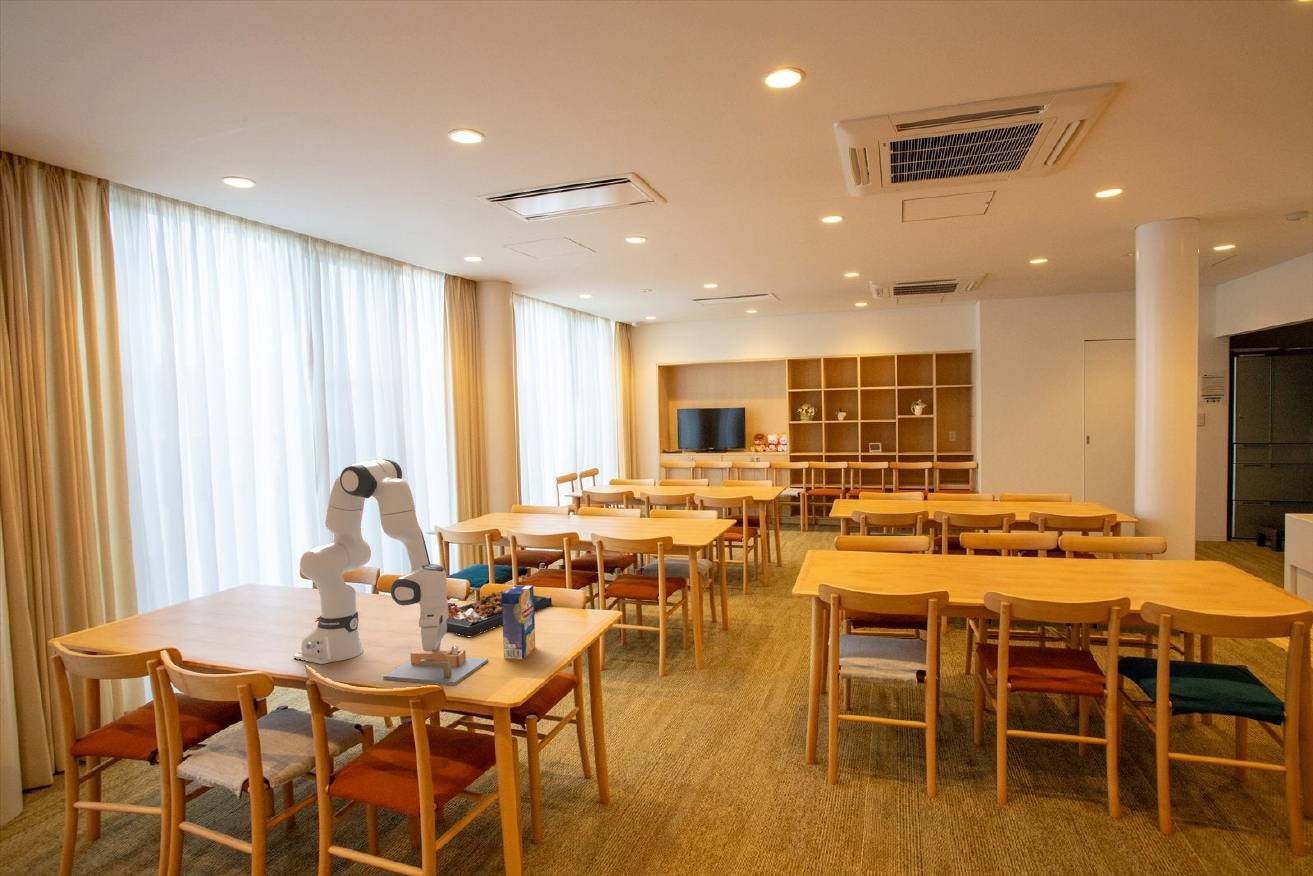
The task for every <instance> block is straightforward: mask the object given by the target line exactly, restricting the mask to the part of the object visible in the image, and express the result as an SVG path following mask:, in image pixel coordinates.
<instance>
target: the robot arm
mask: <svg viewBox="0 0 1313 876" xmlns="http://www.w3.org/2000/svg"><path fill="white" fill-rule="evenodd" d="M371 497H373V498H375V499H376V501H377V504H378V509H379V510H378V511H379V518H380V520H379V521H380V524H381V528H382V530H383V532H384V533H385V535H386V536H387V537H390V538H391V539H394V540H397V541H400V542H401V543H402V544H404V546H405V548H406V551H407V555H408V560H409V563H410V566H411V567H410V568H411V569H410V573H408V574H404V575H403V576H400V577H398V578H397V579H396V580H394V581H393V582H392V584H391V587H390V596H391V598H392V600H393V601H394V602H395V603H396V604H397V605H399V606H405V607H406V606H411V605H415V604H419V609H420V610H419V611H420V612H419V618H418V619H419V620H418V627H419V628H420V637H421V646H422V650H424V651H441V644H442V641H443V638H444V637H445V635H446V634H447V620H446V619H448V618H449V612H448V603H449V602H448V597H447V596H448V595H447V594H448V580H447V573H446V570H445V568H444V567H443V566H442V565H438V564H436V563H435V564H434V563H431V561H430V557H429V552H428V549H427V545H426V540H425V537H424V533H423V531H422V529H421V527H420V524H419V522H418V518H417V512H416V507H415V503H414V497H413V494H412V491H411V487H410V485H409V483H408V482H407V481H406V480H405V479H403V471H402V467H401V466H400V465H399V463H398V462H397V461H394V460H391V459H385V458H384V459H374V460H373V459H371V460H367V461H363V462H360V463H353V464H350V465H348V466H346V467H345V468H344V469H343V470H342V471H341V473H340V474H339V475H338V476H337V477H336V479H335V481H334V483H333V487H332V488H331V491H330V495H329V500H328V506H327V510H326V515H325V516H326V517H325V523H324V524H325V527H326V528H327V529H328V531H330V532H331V533H332V534H333V541H332V542H331V543H328V544H324V545H322V544H321V545H319V546H318V545H317V546H316V547H314V548H311V549H309V550H307V551H305V552H304V553H303V554H302V556H301V558H300V560H299V568H300V571H301V573H302V574H303V576H304V577H305V578H307V579H309V580H310V581H311V582H313V583H314V585H315V587H316V589H317V591H318V594H319V599H320V609H321V612H320V613H321V615H320V616H319V617H316V618H315V620H314V622H315V623H316V622H317V626H316V627H315V628H314V629H313V630H312V631H310V633H308V634H307V635H305V636H304V638H303V640H302V643H301V649H300V650H299V651H298V652H296V653H295V654H294V656H293V658H296V659H295V660H299V659H301V660H300V661H304V660H305V661H304V662H310V663H315V664H319V665H323V664H324V665H325V664H329V663H333V662H340V661H344V660H345V661H346V660H349V659H353V658H356V657H358V656H360V655H361V654H363V653H364V647H363V645H362V641H361V638H360V632H359V611H358V610H357V609H358V608H357V591H356V589H355V588H354V587H353V586H351V585H350V584H348V583H346V581H345V579H344V574H345V573H348V572H352V571H355V570H357V569H359V568H361V567H364V565H365V566H366V564H368V563H369V561H370V560H371V557H372V556H371V555H372V551H371V546H370V545H369V544H368V542H367V541H366V540H364V538H363V536H362V530H361V529H362V528H361V527H362V519H363V512H364V508H365V507H364V506H365V500H366V499H370V498H371Z"/></svg>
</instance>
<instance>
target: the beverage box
mask: <svg viewBox="0 0 1313 876" xmlns="http://www.w3.org/2000/svg"><path fill="white" fill-rule="evenodd" d="M534 592H535V590H534V585H526V584H525V585H524V584H523V585H518V584H515V585H512V586H511V587H510V588H507V589H506V590H504V591H503V593H502V618H503V625H502V634H503V635H502V640H503V641H502V645H503V659H504V658H524V657H525V656H526V655H527V656H528V655H530V653H532V652H531V650H533V649H534V648H535V649H536V627H535V626H536V625H535V623H536V621H535V612H534V595H535V594H534ZM535 649H534V650H535ZM534 650H533V651H534ZM527 656H526V657H527ZM526 657H525V658H526ZM525 658H524V659H525Z"/></svg>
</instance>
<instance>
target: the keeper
mask: <svg viewBox="0 0 1313 876" xmlns="http://www.w3.org/2000/svg"><path fill="white" fill-rule="evenodd" d="M420 664H423V665H435V666H443V673H444V678H445V679H448V678H450V677H451V676H452V672H451V661H446V660H433V659H422V660H420Z"/></svg>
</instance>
